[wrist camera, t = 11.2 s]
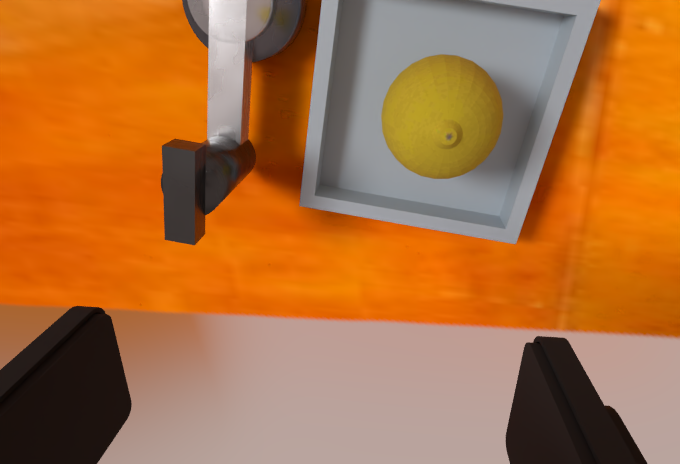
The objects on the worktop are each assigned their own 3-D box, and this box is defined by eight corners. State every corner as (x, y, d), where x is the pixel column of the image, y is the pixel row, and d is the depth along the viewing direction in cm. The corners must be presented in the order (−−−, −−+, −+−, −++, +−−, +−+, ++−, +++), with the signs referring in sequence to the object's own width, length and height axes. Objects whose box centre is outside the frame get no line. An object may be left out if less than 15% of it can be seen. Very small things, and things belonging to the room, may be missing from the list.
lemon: (451, 168, 27) (471, 224, 19) (366, 125, 26) (354, 165, 19) (507, 79, 24) (552, 104, 17) (414, 29, 24) (421, 34, 17)
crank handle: (198, -55, 22) (118, -84, 16) (280, -42, 22) (232, -67, 15) (197, 185, 27) (137, 234, 21) (263, 196, 27) (222, 250, 21)
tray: (581, 0, 23) (601, -2, 21) (506, 226, 28) (515, 244, 26) (333, -38, 23) (326, -44, 21) (307, 191, 29) (299, 206, 27)
